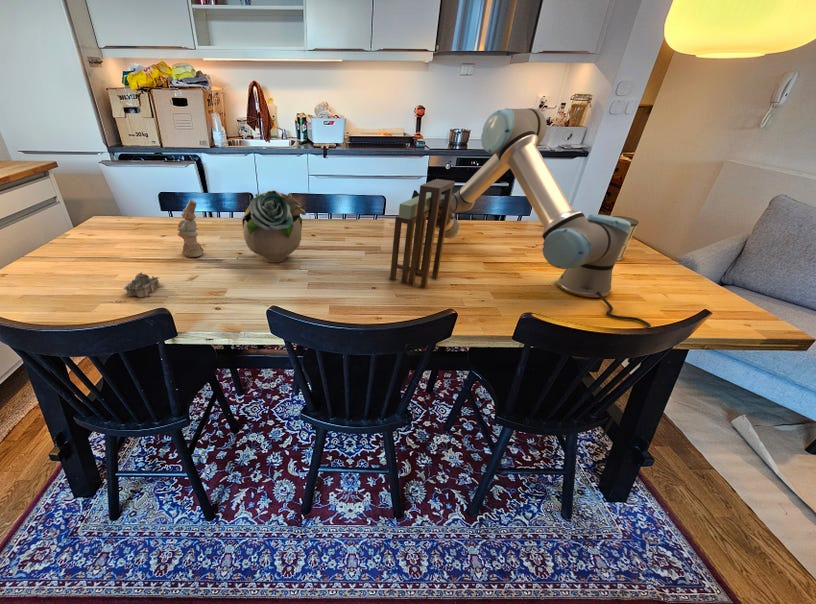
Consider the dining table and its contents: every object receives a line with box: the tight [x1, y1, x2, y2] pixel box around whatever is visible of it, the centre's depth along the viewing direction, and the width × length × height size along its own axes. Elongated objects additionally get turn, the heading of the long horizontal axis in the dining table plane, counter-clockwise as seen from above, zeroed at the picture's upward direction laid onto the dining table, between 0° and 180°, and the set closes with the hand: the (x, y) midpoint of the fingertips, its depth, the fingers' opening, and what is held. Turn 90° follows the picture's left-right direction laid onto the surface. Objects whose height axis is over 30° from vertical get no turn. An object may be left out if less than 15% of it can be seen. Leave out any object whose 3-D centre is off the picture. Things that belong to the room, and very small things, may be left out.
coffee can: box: [611, 215, 640, 261], centre depth 152 cm, size 10×10×14 cm
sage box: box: [398, 192, 431, 219], centre depth 128 cm, size 20×4×4 cm, turn 145°
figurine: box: [177, 199, 204, 258], centre depth 148 cm, size 9×8×20 cm
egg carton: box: [122, 271, 161, 298], centre depth 126 cm, size 11×8×4 cm
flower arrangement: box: [241, 189, 307, 263], centre depth 144 cm, size 25×25×24 cm
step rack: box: [389, 178, 456, 289], centre depth 128 cm, size 12×13×31 cm
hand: (423, 195), depth 128 cm, fingers open, 6 cm apart
